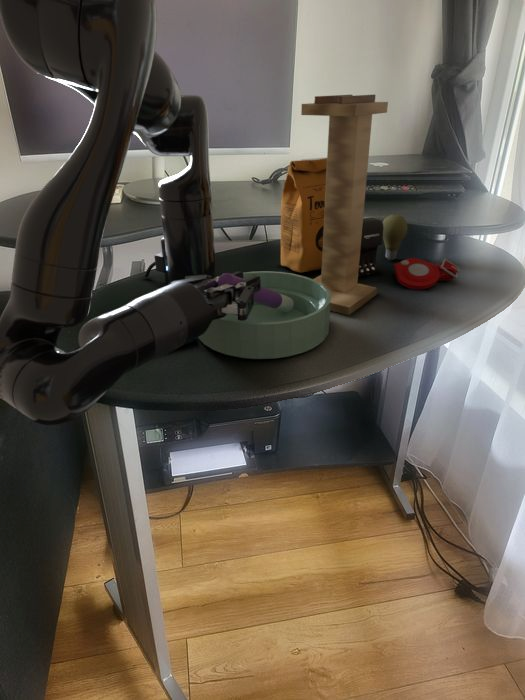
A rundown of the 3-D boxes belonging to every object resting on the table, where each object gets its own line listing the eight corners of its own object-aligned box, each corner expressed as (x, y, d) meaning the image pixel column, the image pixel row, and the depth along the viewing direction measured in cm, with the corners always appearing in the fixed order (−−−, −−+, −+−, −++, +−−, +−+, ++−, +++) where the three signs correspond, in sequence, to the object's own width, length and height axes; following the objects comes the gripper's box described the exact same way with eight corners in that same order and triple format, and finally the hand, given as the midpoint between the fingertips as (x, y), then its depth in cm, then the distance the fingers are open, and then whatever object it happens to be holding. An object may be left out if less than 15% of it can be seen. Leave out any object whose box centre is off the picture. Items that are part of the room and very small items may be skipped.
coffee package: (348, 269, 102) (357, 159, 91) (297, 279, 97) (300, 163, 86) (323, 256, 110) (329, 153, 99) (275, 264, 105) (275, 157, 94)
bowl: (168, 336, 76) (164, 301, 73) (250, 294, 91) (249, 263, 88) (279, 377, 65) (279, 338, 62) (352, 321, 79) (355, 287, 77)
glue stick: (229, 293, 66) (235, 275, 65) (215, 288, 67) (221, 270, 67) (290, 314, 81) (295, 299, 81) (278, 309, 82) (283, 295, 82)
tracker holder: (416, 288, 89) (383, 261, 95) (413, 306, 92) (381, 278, 98) (467, 264, 92) (431, 239, 98) (463, 282, 95) (428, 257, 101)
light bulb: (384, 254, 110) (389, 210, 105) (407, 259, 107) (413, 213, 102) (373, 260, 107) (377, 215, 102) (396, 265, 103) (402, 219, 99)
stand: (289, 299, 88) (293, 96, 72) (320, 281, 96) (329, 94, 80) (348, 315, 82) (366, 96, 66) (376, 295, 89) (398, 94, 73)
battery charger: (353, 280, 96) (358, 223, 91) (342, 274, 99) (346, 218, 94) (381, 274, 99) (387, 218, 93) (370, 269, 102) (375, 214, 96)
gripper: (203, 305, 53) (289, 263, 65) (121, 280, 61) (212, 247, 73) (208, 363, 57) (288, 314, 69) (130, 333, 64) (215, 293, 76)
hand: (249, 279), depth 71 cm, fingers closed on glue stick, 2 cm apart
